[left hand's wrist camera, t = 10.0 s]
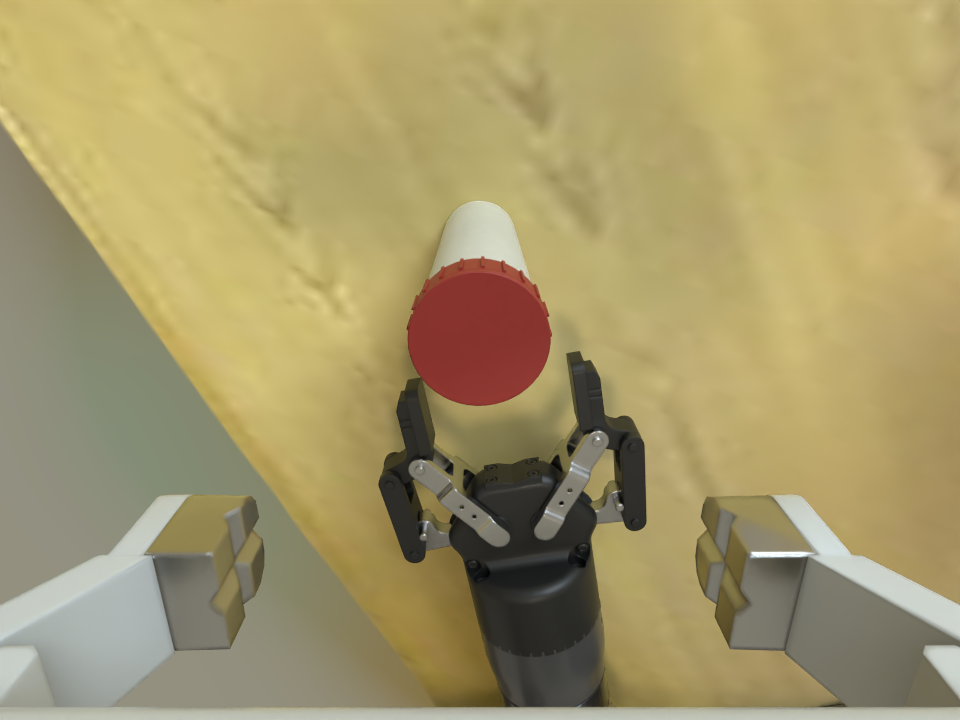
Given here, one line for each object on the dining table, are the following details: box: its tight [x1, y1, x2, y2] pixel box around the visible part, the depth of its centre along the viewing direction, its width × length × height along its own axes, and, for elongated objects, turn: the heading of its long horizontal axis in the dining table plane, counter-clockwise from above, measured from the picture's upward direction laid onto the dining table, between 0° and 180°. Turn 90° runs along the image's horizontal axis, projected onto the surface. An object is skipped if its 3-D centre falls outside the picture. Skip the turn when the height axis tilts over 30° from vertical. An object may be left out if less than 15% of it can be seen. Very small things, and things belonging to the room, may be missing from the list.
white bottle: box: [429, 201, 531, 282], centre depth 28 cm, size 4×4×17 cm
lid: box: [407, 256, 552, 406], centre depth 20 cm, size 5×5×2 cm
